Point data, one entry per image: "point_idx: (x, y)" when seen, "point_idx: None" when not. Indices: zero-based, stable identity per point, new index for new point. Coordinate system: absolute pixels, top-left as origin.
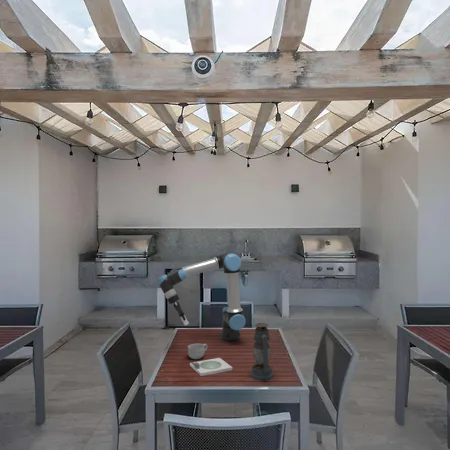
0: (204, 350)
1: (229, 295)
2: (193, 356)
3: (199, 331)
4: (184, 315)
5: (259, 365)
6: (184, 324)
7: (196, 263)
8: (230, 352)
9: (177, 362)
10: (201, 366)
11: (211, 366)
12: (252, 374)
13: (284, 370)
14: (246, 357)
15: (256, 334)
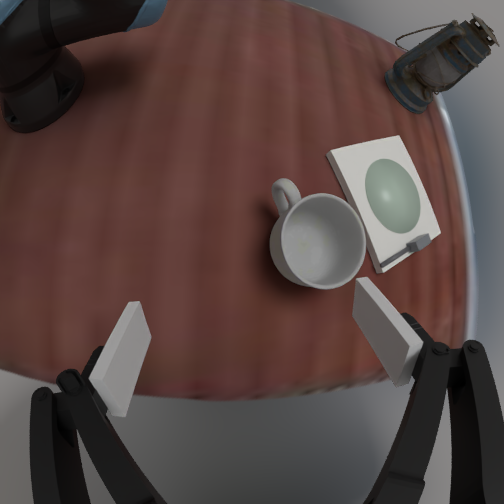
0: (286, 201)
1: None
2: (340, 258)
3: None
4: (416, 338)
5: (426, 85)
6: (149, 342)
7: None
8: (235, 100)
9: (347, 328)
10: (409, 228)
11: (405, 194)
12: (421, 109)
13: (369, 43)
14: (292, 69)
15: (483, 54)
